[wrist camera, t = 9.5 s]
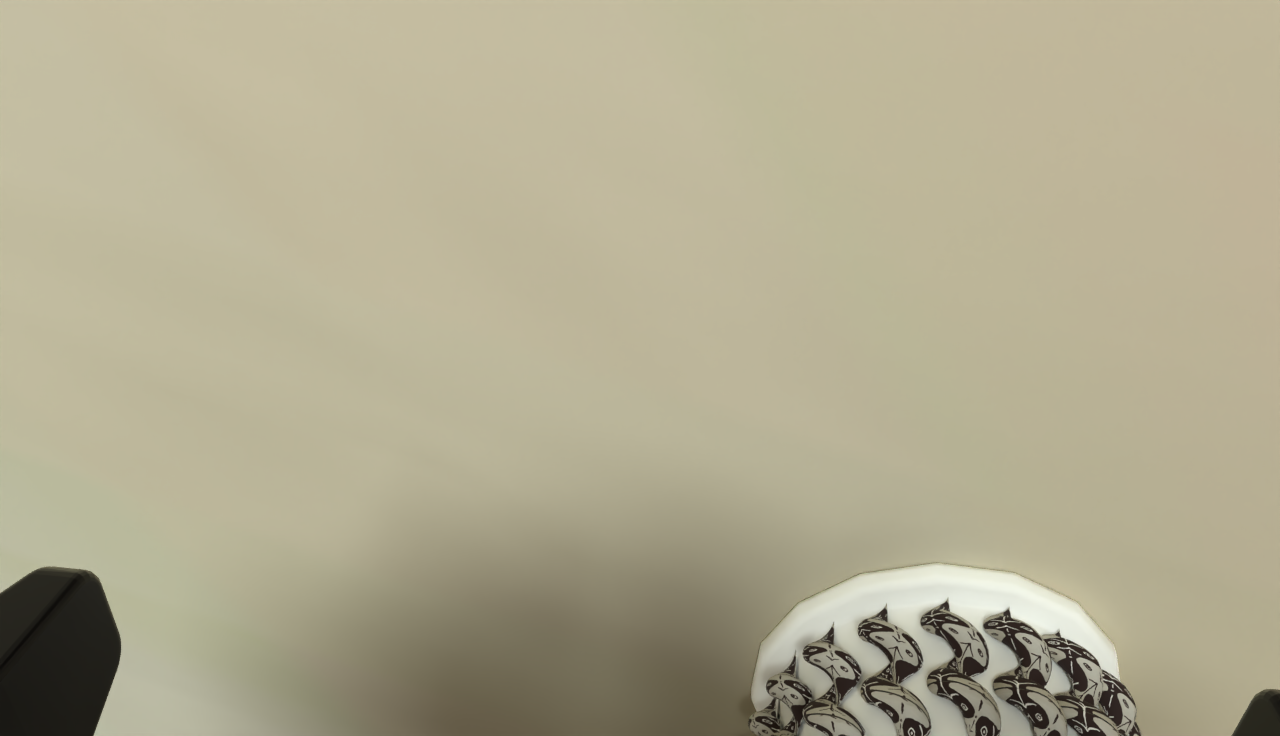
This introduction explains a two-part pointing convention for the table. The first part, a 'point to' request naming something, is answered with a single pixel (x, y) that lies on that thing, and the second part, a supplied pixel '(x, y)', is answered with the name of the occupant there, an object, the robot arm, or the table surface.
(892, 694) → the decorative candle
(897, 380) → the table surface
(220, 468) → the table surface
